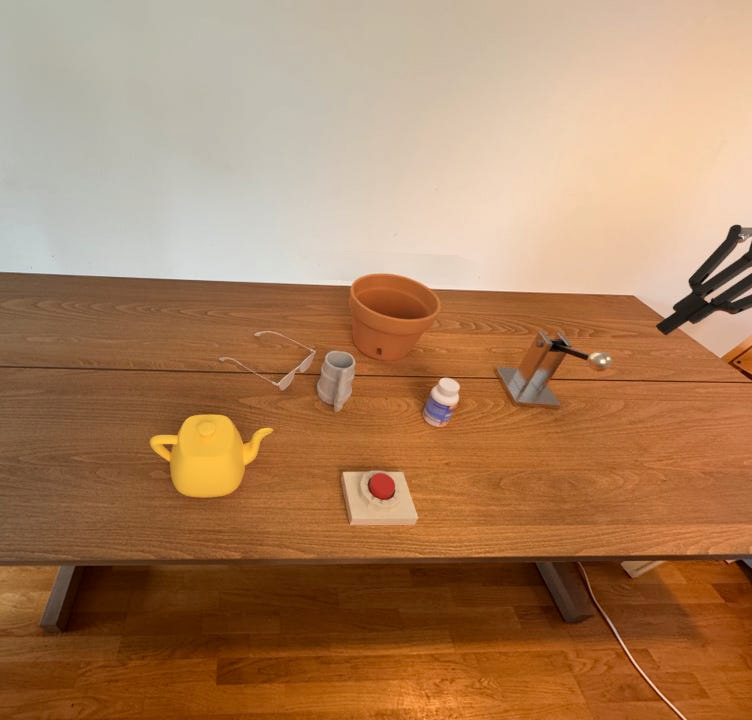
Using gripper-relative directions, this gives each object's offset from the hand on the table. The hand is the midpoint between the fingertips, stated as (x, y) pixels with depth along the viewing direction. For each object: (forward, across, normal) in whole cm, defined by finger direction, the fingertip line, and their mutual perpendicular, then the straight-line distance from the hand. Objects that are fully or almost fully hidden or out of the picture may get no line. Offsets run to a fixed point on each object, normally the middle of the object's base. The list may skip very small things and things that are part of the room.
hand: (660, 330), depth 68 cm
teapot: (+64, +12, +44) cm, 78 cm away
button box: (+48, -3, +24) cm, 54 cm away
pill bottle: (+38, +10, +3) cm, 39 cm away
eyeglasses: (+57, +38, +24) cm, 72 cm away
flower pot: (+40, +36, -2) cm, 54 cm away
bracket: (+24, +11, -20) cm, 33 cm away
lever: (+13, +7, -9) cm, 17 cm away
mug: (+49, +21, +18) cm, 56 cm away
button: (+45, -2, +26) cm, 52 cm away
